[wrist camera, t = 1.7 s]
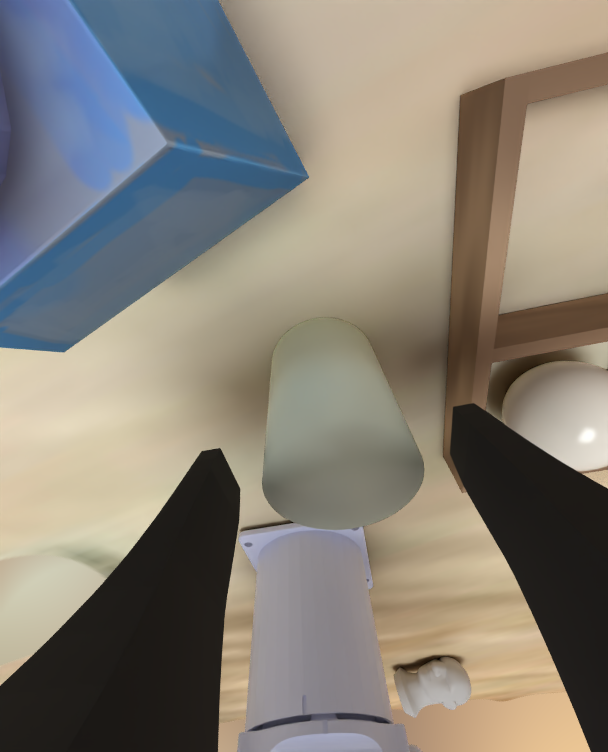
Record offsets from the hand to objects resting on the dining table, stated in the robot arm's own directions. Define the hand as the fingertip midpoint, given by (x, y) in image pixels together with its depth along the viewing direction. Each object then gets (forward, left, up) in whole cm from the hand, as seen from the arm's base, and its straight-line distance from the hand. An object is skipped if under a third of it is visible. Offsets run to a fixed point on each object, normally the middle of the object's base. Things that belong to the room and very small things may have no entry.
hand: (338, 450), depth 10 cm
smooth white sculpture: (-41, -5, -6) cm, 42 cm away
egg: (-3, -10, -5) cm, 12 cm away
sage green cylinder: (0, 0, -5) cm, 5 cm away
